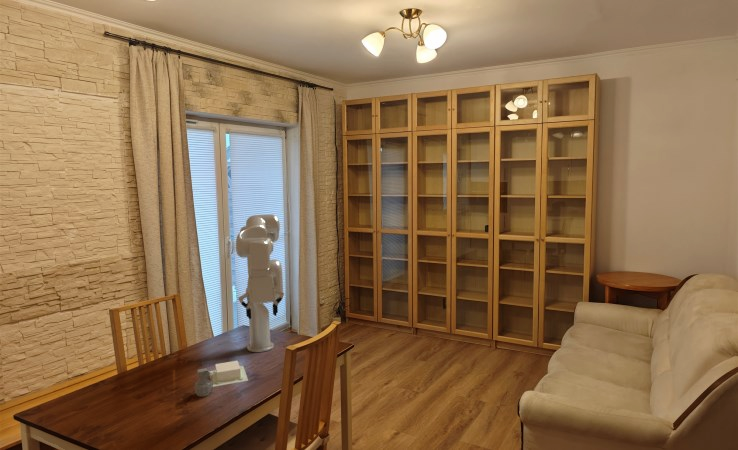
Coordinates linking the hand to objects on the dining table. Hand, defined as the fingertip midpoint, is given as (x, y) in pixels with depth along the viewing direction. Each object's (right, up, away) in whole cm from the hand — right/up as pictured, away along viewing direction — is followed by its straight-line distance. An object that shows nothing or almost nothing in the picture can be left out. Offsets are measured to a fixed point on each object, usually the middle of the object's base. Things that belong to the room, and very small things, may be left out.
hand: (262, 316), depth 183 cm
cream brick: (-17, -27, +12) cm, 34 cm away
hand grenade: (-21, -30, -3) cm, 37 cm away
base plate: (-17, -28, +12) cm, 35 cm away
